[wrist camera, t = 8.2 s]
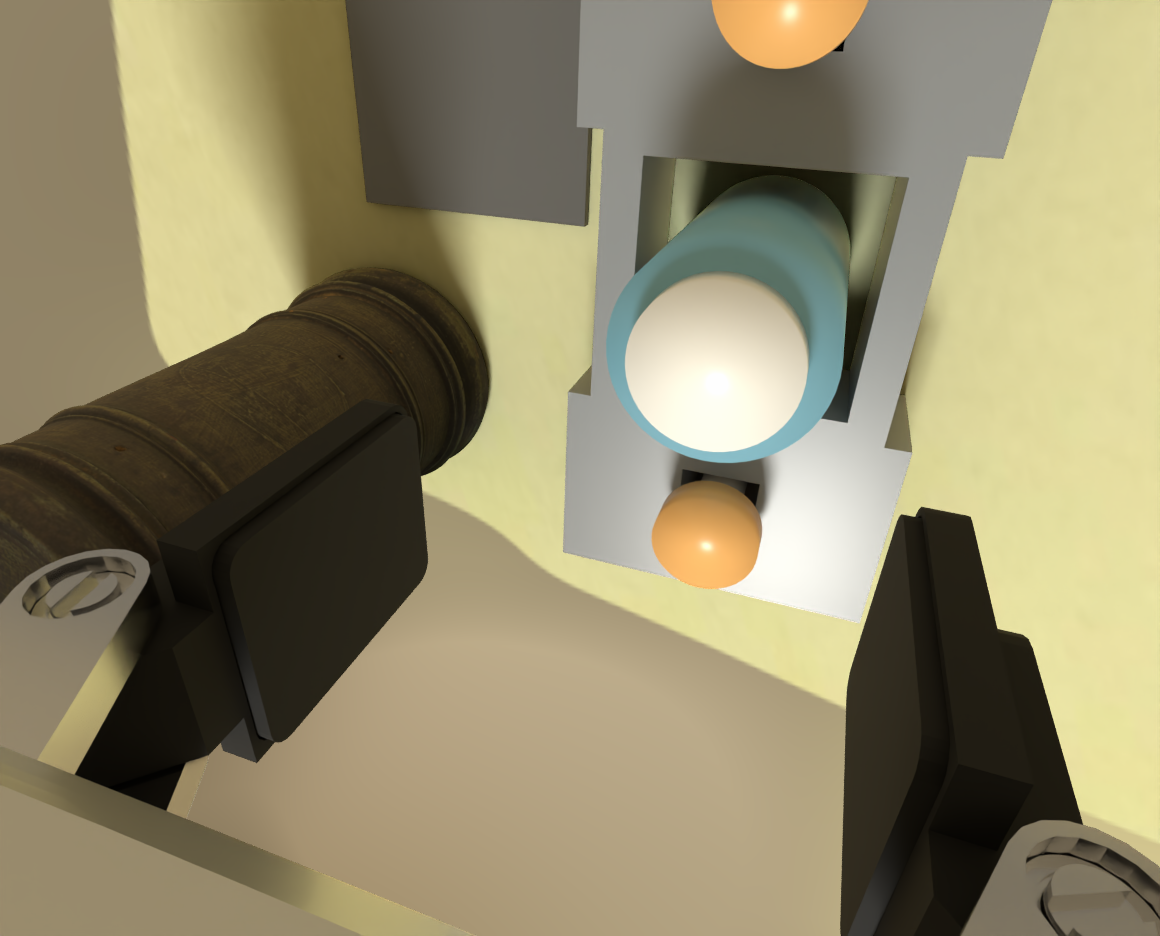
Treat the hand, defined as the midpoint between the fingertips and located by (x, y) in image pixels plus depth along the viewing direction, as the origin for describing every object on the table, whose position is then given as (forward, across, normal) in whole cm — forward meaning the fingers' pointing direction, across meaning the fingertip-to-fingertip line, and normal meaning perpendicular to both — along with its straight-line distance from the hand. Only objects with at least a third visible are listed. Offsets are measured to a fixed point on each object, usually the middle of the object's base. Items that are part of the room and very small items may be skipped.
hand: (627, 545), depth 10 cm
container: (+18, +15, +6) cm, 24 cm away
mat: (+18, +11, -5) cm, 21 cm away
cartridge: (+18, 0, 0) cm, 18 cm away
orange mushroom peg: (+17, 0, +8) cm, 19 cm away
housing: (+18, 0, 0) cm, 18 cm away
